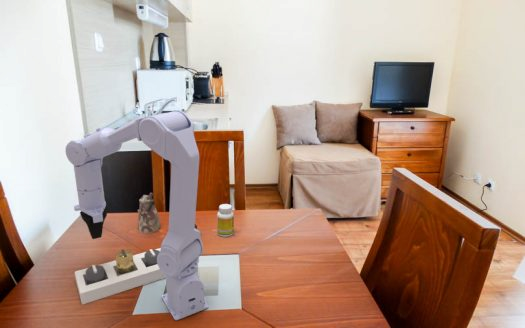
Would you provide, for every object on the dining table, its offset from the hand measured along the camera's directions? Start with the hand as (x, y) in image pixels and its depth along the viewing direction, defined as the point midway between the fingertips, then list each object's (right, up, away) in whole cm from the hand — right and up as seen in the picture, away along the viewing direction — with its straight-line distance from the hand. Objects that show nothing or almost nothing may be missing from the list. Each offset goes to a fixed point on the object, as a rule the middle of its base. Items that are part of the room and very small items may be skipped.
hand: (96, 237), depth 89 cm
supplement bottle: (+30, -4, +25) cm, 40 cm away
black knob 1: (+1, -11, -3) cm, 12 cm away
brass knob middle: (+7, -8, 0) cm, 11 cm away
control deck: (+7, -11, +1) cm, 13 cm away
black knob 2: (+13, -9, +5) cm, 17 cm away
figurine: (+5, -3, +27) cm, 28 cm away
